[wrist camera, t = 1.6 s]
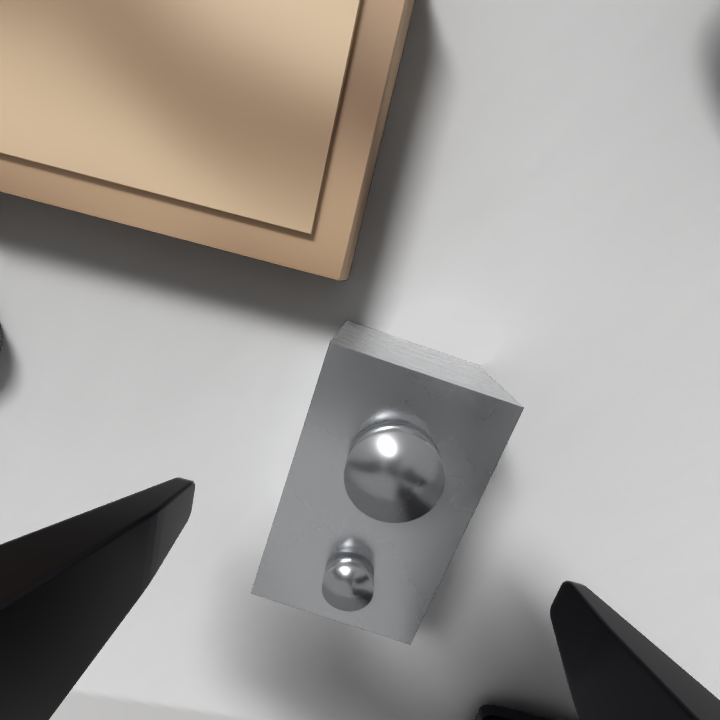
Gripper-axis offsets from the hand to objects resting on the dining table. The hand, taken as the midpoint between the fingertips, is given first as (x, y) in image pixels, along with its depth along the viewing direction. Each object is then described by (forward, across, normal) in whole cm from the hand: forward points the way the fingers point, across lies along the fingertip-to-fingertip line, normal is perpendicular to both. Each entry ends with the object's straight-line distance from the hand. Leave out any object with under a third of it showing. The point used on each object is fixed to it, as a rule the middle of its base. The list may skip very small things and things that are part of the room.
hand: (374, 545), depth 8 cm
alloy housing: (+6, 0, 0) cm, 6 cm away
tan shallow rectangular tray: (+5, +10, -10) cm, 15 cm away
